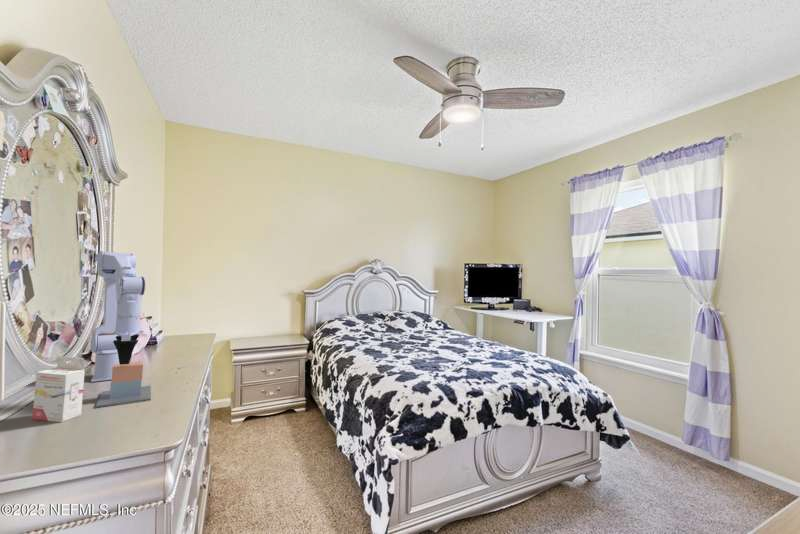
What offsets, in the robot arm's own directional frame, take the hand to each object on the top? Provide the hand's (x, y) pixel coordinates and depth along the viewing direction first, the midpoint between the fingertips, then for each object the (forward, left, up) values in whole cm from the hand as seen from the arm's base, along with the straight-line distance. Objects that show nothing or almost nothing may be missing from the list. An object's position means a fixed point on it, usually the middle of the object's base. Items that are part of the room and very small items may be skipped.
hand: (125, 361), depth 102 cm
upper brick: (+2, +1, -5) cm, 6 cm away
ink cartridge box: (+12, -12, -11) cm, 20 cm away
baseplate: (+2, +1, -10) cm, 10 cm away
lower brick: (+2, +1, -10) cm, 10 cm away
